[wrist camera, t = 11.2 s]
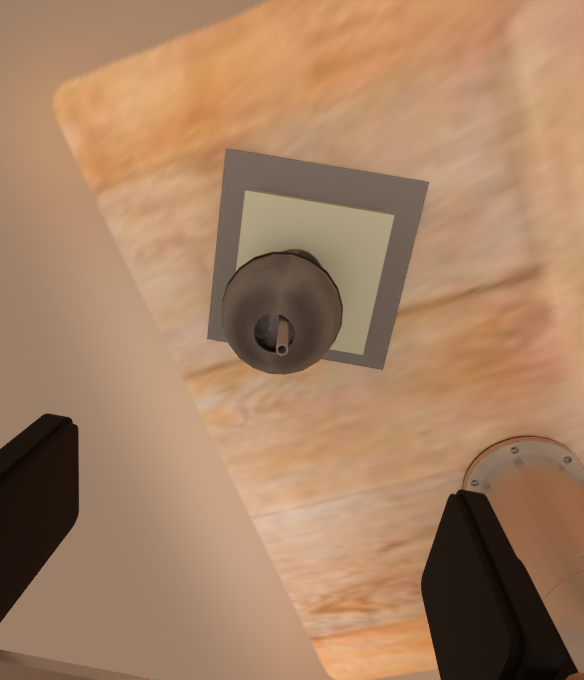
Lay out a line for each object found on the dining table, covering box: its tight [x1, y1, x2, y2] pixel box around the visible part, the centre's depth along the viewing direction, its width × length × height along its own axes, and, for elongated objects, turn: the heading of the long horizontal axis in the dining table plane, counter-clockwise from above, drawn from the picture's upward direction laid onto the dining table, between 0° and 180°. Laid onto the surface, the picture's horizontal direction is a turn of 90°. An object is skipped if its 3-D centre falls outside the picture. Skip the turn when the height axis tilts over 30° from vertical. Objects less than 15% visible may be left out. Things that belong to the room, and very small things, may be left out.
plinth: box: [207, 149, 429, 370], centre depth 40 cm, size 18×18×6 cm
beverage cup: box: [222, 249, 343, 374], centre depth 28 cm, size 7×7×20 cm
